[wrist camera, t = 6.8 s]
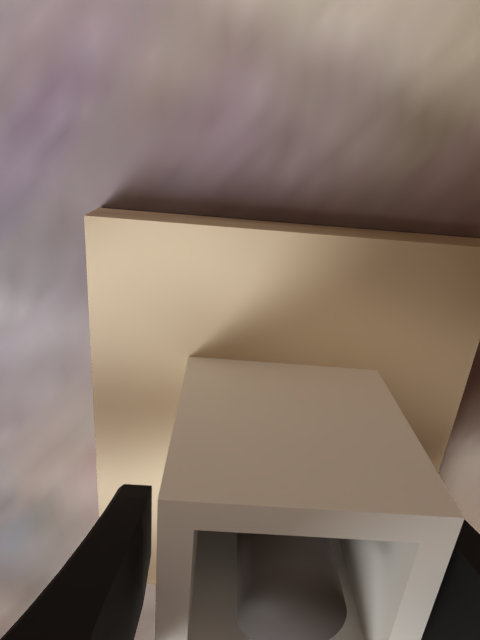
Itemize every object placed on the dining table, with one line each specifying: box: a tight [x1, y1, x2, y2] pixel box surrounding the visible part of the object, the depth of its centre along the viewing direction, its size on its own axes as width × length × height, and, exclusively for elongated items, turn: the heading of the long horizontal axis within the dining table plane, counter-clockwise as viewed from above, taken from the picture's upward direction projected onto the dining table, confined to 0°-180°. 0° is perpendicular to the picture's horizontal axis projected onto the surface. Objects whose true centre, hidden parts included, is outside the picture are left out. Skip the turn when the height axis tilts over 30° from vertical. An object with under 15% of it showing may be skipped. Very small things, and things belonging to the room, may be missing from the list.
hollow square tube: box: [155, 356, 465, 640], centre depth 11 cm, size 5×5×5 cm
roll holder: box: [84, 208, 480, 640], centre depth 11 cm, size 12×10×6 cm
